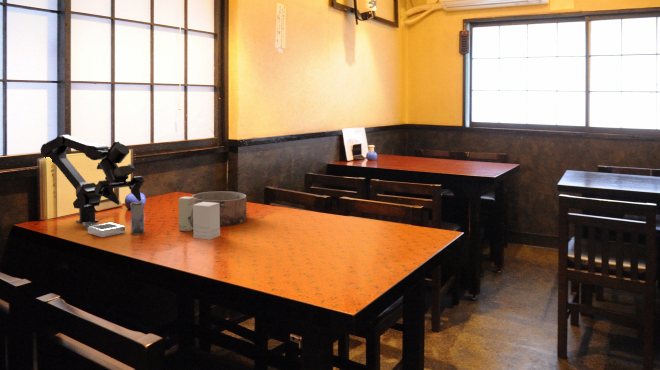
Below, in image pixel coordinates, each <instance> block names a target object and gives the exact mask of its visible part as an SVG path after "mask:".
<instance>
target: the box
mask: <svg viewBox="0 0 660 370" xmlns="http://www.w3.org/2000/svg"><path fill="white" fill-rule="evenodd" d="M177 204H178V231H180V232H190V231H192V230H193V205H194V197H192V196H185V195H184V196H180V197H179V198H178V203H177Z"/></svg>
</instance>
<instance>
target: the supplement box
mask: <svg viewBox="0 0 660 370" xmlns="http://www.w3.org/2000/svg"><path fill="white" fill-rule="evenodd" d="M192 232H193V238H194V239H201V240H209V241H210V240H213V239H215V238H218V237H220V236H221V226H220V204H219V203H213V202H200V203H197V204H194V205H193V231H192Z"/></svg>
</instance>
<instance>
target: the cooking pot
mask: <svg viewBox="0 0 660 370" xmlns="http://www.w3.org/2000/svg"><path fill="white" fill-rule="evenodd" d="M191 197H194V204H197V203H200V202H213V203H219V204H220V227H228V226H229V227H230V226H237V225H241V224H244V223H245V222H246V220H247V195H246V194H245V193H243V192H239V191H230V190H227V191H226V190H225V191H207V192H206V191H205V192H199V193H195V194H192V196H191ZM240 223H241V224H240Z"/></svg>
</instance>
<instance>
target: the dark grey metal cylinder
mask: <svg viewBox="0 0 660 370" xmlns="http://www.w3.org/2000/svg"><path fill="white" fill-rule="evenodd" d="M144 215H145V211H144V203H143V202H142V201H133V202H131V203H130V227H131V228H130V229H131V231H130V232H131V234H133V235H141V234H145V216H144Z"/></svg>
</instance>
